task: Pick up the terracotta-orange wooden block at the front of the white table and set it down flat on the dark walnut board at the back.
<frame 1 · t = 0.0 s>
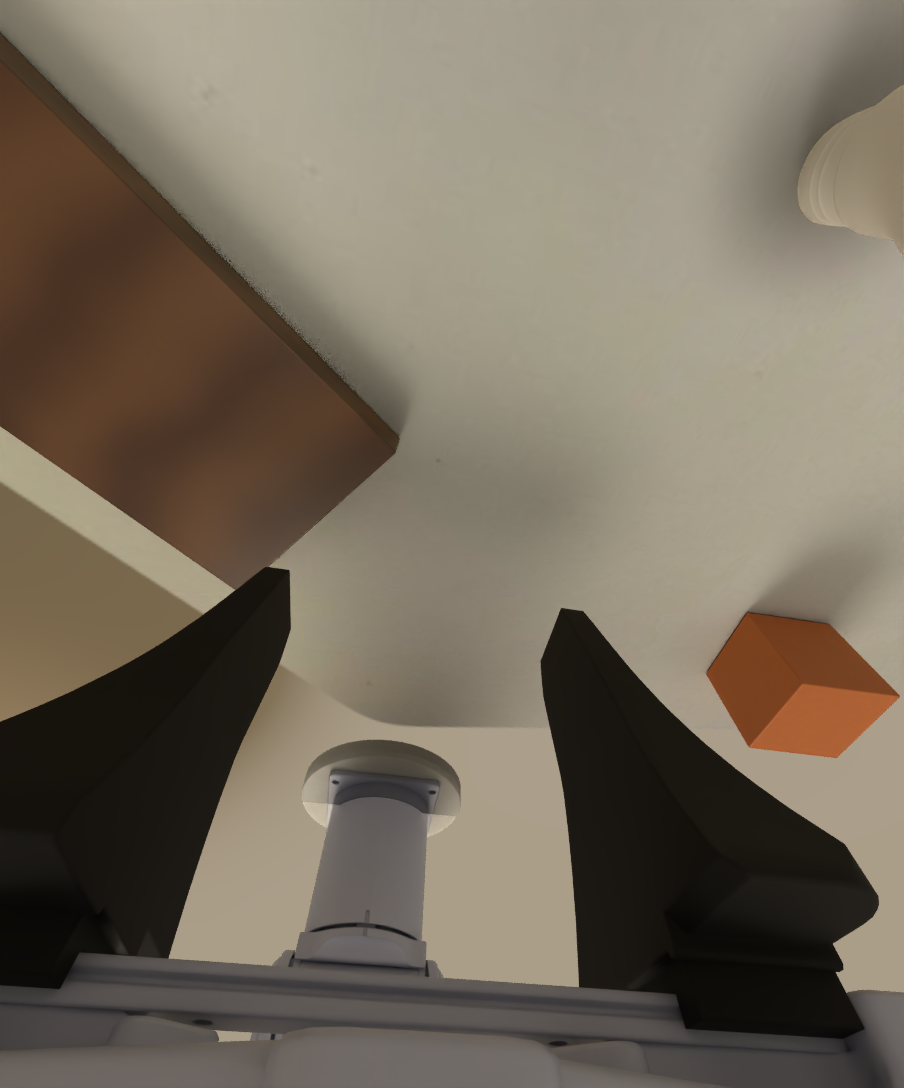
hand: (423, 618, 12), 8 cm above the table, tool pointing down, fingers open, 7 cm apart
lightbulb: (821, 176, 14), on the table
block: (765, 649, 25), on the table
board: (96, 323, 16), on the table
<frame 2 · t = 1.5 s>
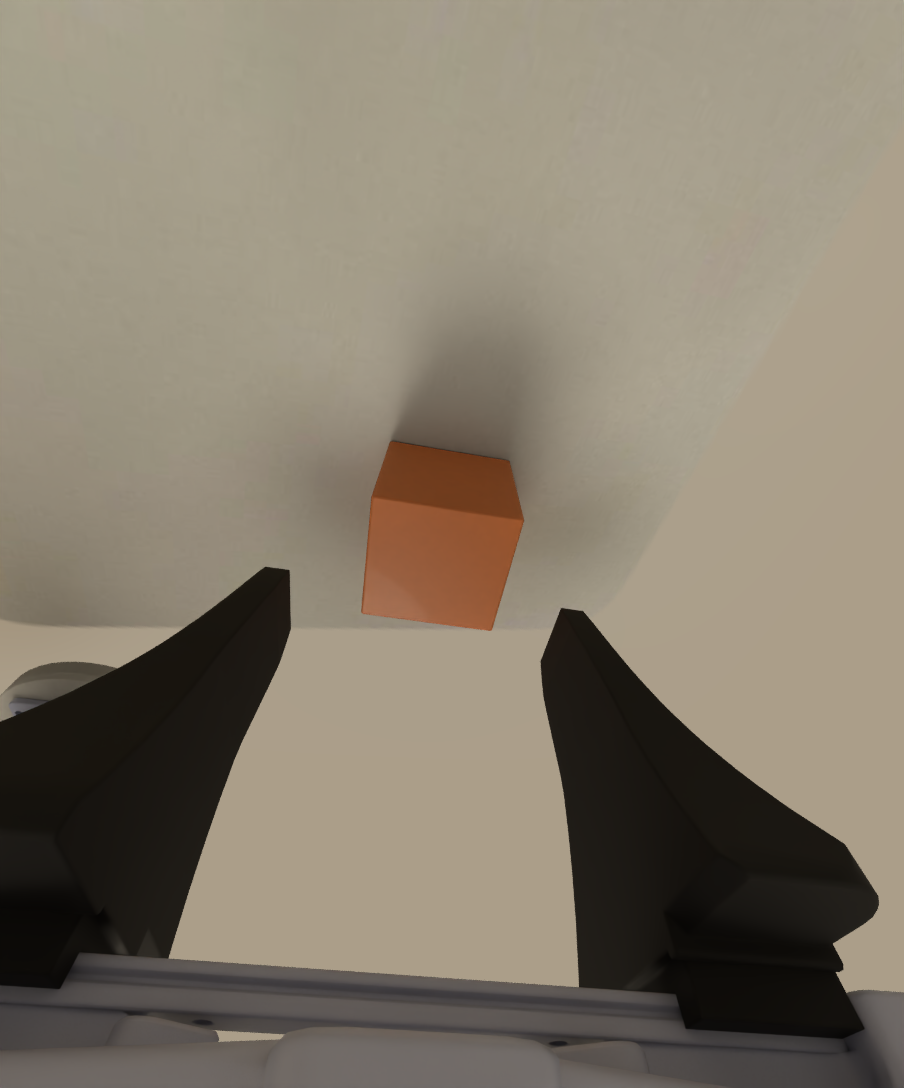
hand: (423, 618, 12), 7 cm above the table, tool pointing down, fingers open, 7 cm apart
block: (441, 503, 18), on the table
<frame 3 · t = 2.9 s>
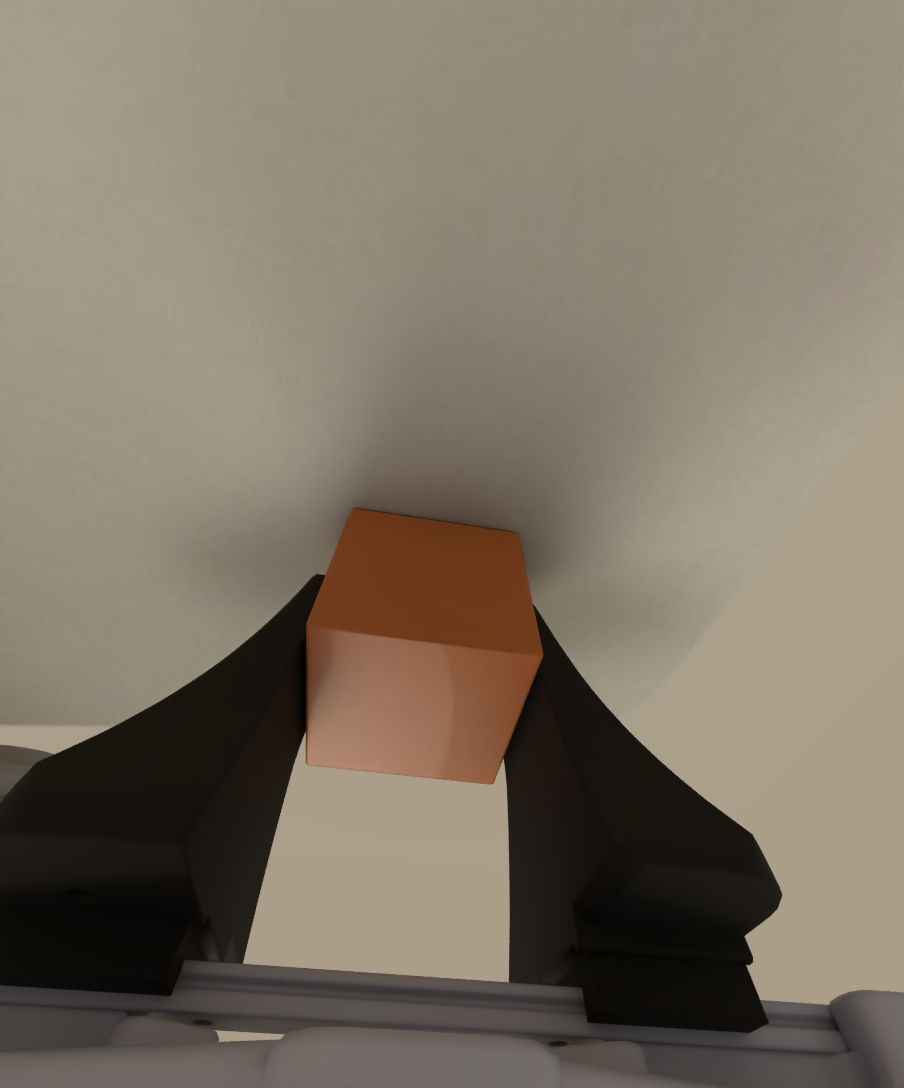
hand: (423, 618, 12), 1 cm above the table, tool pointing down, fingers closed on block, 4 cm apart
block: (424, 585, 14), on the table, touching gripper
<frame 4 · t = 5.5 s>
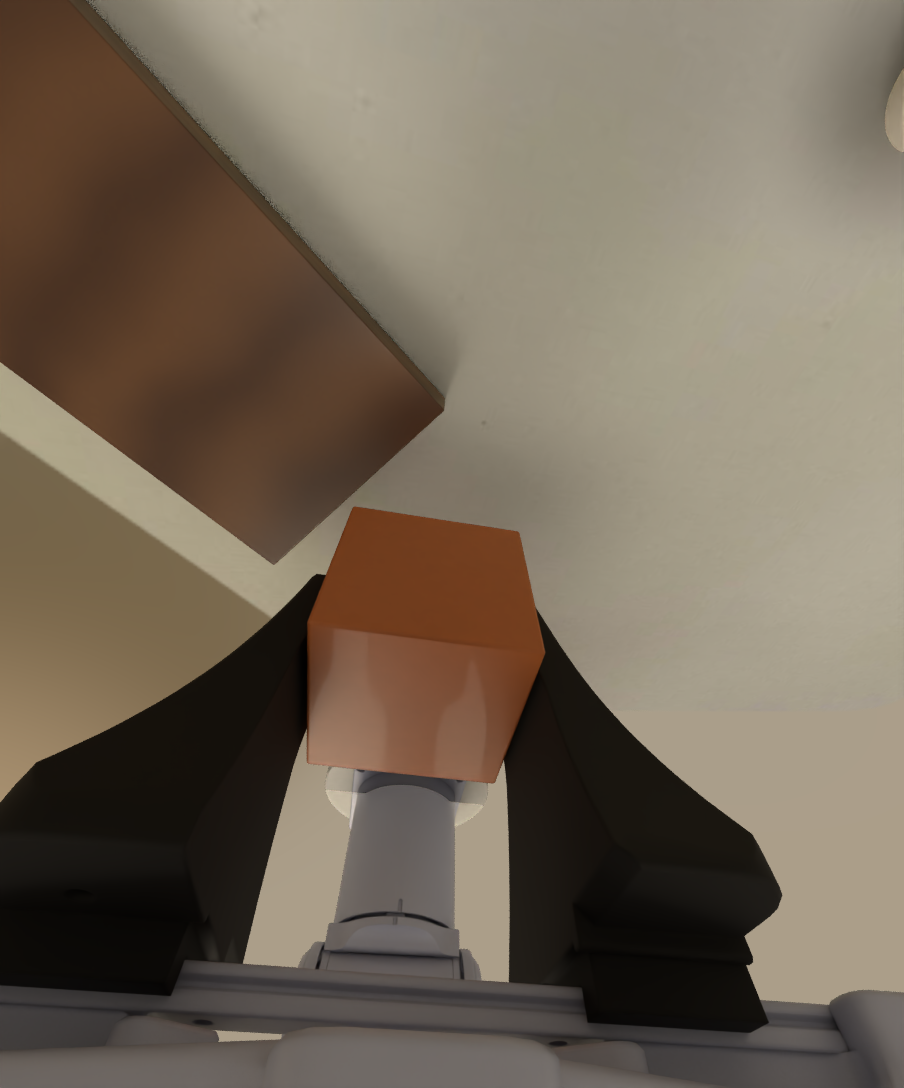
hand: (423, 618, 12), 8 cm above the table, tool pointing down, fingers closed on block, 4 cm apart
block: (425, 584, 14), point 7 cm above the table, touching gripper
board: (132, 275, 16), on the table
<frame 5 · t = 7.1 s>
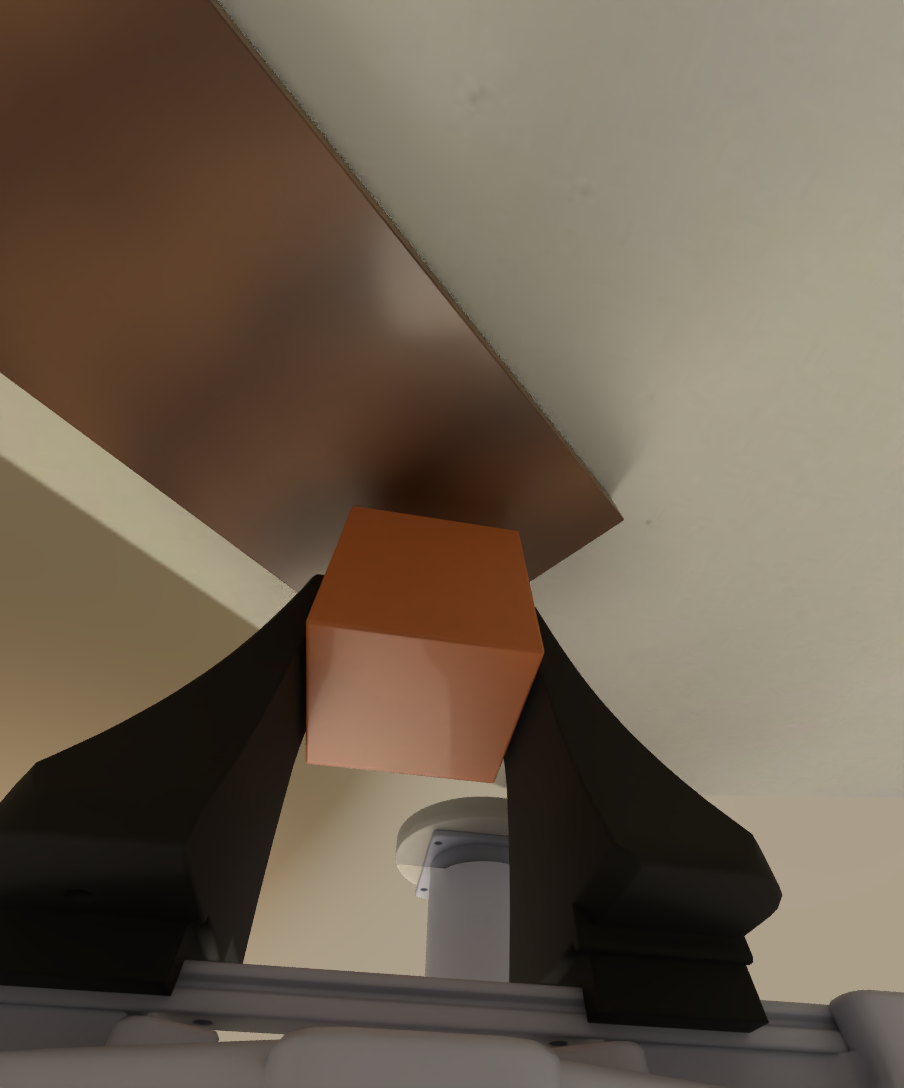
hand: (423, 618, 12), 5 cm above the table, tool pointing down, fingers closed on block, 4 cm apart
block: (425, 583, 14), point 3 cm above the table, touching gripper
board: (281, 370, 14), on the table
when the fingers open (3 cm above the table, at t = 8.2 s): block stays where it is, resting on board.
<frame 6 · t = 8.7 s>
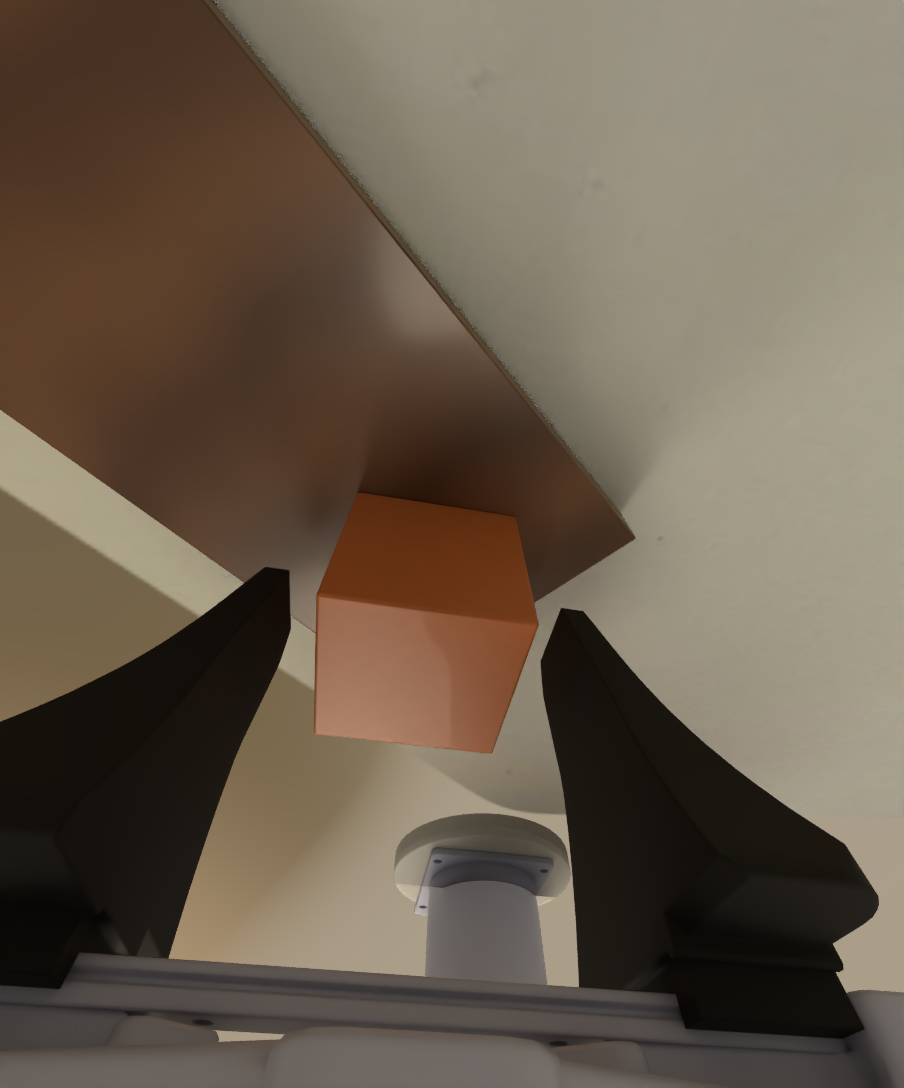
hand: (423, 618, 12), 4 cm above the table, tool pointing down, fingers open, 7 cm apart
block: (426, 568, 14), point 1 cm above the table, touching board
board: (268, 379, 13), on the table
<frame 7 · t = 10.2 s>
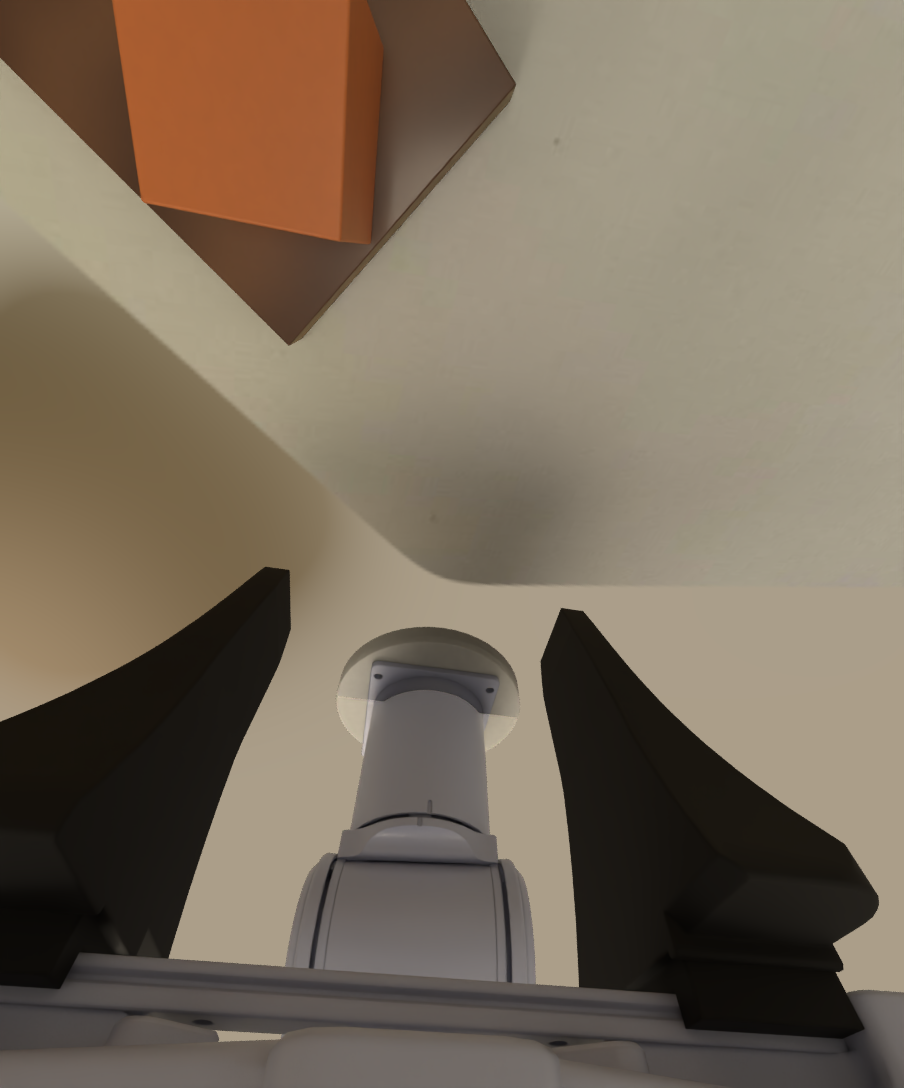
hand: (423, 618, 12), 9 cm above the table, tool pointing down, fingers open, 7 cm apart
block: (298, 136, 13), point 1 cm above the table, touching board
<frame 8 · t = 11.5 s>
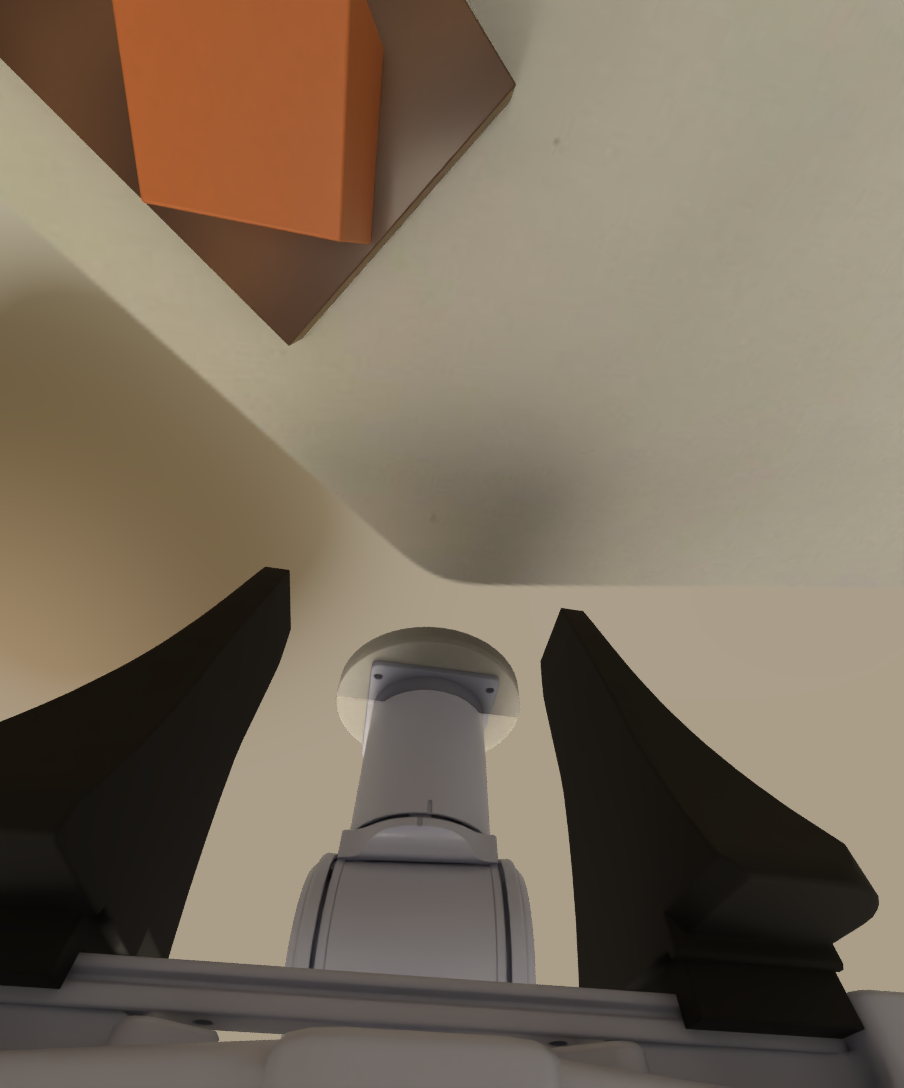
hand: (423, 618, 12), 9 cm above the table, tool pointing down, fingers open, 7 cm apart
block: (298, 137, 13), point 1 cm above the table, touching board
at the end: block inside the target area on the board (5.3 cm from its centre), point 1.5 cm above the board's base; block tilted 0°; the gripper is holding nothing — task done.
